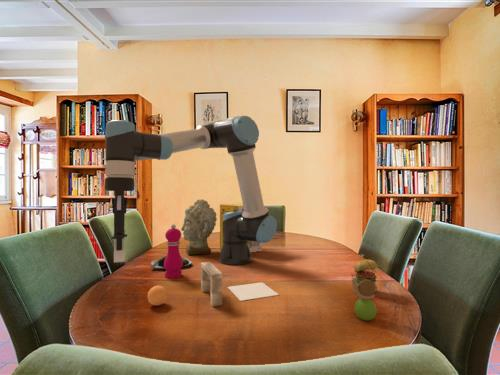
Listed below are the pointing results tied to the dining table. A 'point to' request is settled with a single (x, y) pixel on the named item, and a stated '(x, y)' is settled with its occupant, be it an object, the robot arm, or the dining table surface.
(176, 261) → the pepper mill
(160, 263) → the salad plate
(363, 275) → the hamburger
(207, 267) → the bridge
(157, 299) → the ball
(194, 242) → the buddha head
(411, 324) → the dining table surface
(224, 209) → the packaging box
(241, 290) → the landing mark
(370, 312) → the snail figurine
